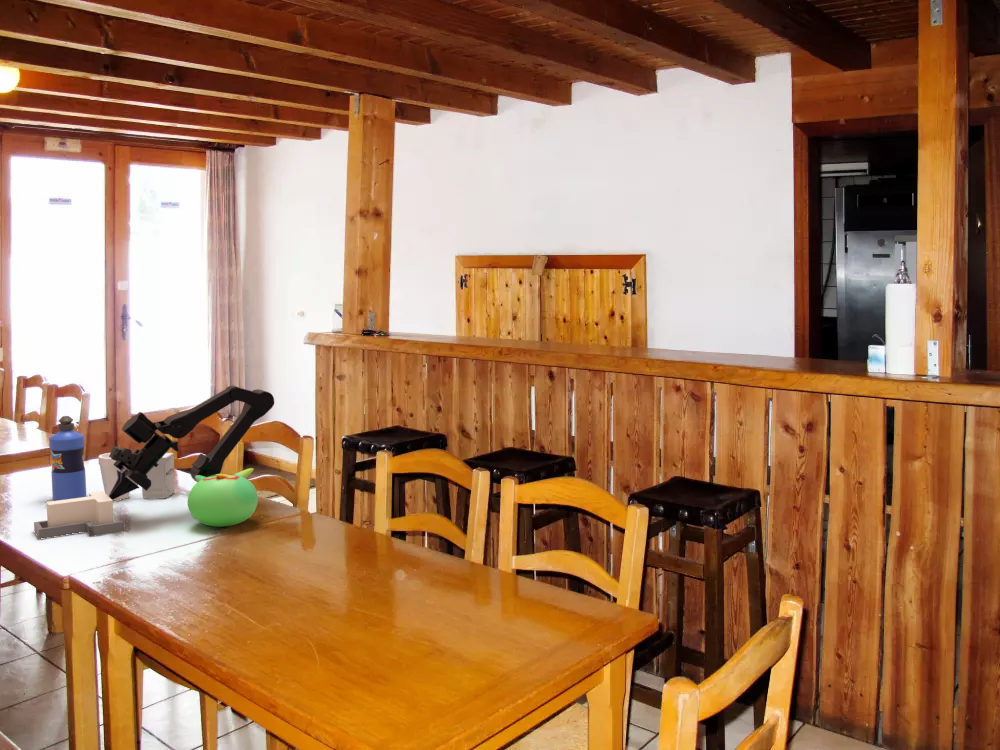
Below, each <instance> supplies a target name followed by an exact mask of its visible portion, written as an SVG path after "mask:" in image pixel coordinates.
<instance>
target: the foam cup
mask: <svg viewBox="0 0 1000 750" xmlns="http://www.w3.org/2000/svg"><path fill="white" fill-rule="evenodd" d="M110 453H111V452H107V453H103V454H99V455H98V458H97V459H98V465H99V469H100V473H101V474H100V475H101V479H102V484H103V492H104V493H105V494H106V495H107V496H109V495H110V493H111V491H112V489H113V487H114V485H115V483H116V481H117V479H118V476H117V470H118V471H120V469H118V468H117V467H116V466H114V465H113V464H114V463H115V462H116V461H115V460H113V459H111V457H109V456H110ZM130 492H131V491H130ZM130 492H128V493H126V494H124V495H122V496H119V497H117V498H115V499H113V500H116V501H121V500H120V499H123V500H126V499H125V498H127V499H128V498H130V494H131V493H130Z"/></svg>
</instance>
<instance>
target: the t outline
mask: <svg viewBox="0 0 1000 750" xmlns="http://www.w3.org/2000/svg"><path fill="white" fill-rule="evenodd" d="M125 524H126V523H125V521H124V520H120V521H114V522H113V523H106V524H100V525H92V524H91V523H90V522H89V521H88V522H81V523H75V524H68V525H61V526H54V527H48V522H47V519H46V520H41V521H34V522H33V530H34V531H35V532H34V533H35V535H36V534H37V535H36V537H38V538H37V539H39V540H42V539H41V538H45V539H48V538H47V537H51V538H55V537H54V536H58V537H62V536H61V535H65V536H67V535H66V534H71V535H73V534H72V533H78V534H80V533H79V532H84V533H86V534H87V533H88V534H89V535H88V534H87V535H88V536H89V537H95V535H96V536H102V535H109V534H115V533H122V532H126V525H125Z"/></svg>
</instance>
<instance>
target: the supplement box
mask: <svg viewBox="0 0 1000 750" xmlns="http://www.w3.org/2000/svg"><path fill="white" fill-rule="evenodd" d="M174 455H175V454H174V452H167V453H166V454H165V455H164V456H163V457H162V458H161V459H160V460H159V459H158V460H159V461H158V462H157V464H159V465H158V466H157V467H155V466H154V467H153V468H152V469H151V470H150V471H149V472H148V473H147V476H148V477H147V478H148V479H150V480H151V486H150V488H149V489H148V490H147V491H146V490H145V489H143V488H142V487H141V492H142V493H141V494H142V498H141V499H154V498H166V499H167V498H168V497H170V496H171V495H173V494H175V493H174V492H176V491H175V489H176V487H175V485H176V484H175V482H176V481H175V456H174ZM172 493H173V494H172ZM169 495H170V496H169Z"/></svg>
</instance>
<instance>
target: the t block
mask: <svg viewBox="0 0 1000 750" xmlns="http://www.w3.org/2000/svg"><path fill="white" fill-rule="evenodd" d="M45 502H46V520H47V522H48V527H54V526H61V525H68V524H75V523H81V522H88V521H89V522H90V523H91V524H92V525H100V524H106V523H113V522H115V521H114V501H113V500H112V499H111V498H110V497H109V496H107V495H106V494H105V491H104V490H99V491H92V492H88V496H86V497H81V498H74V499H66V500H58V501H53V500H52V501H51V500H50V501H45Z"/></svg>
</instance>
